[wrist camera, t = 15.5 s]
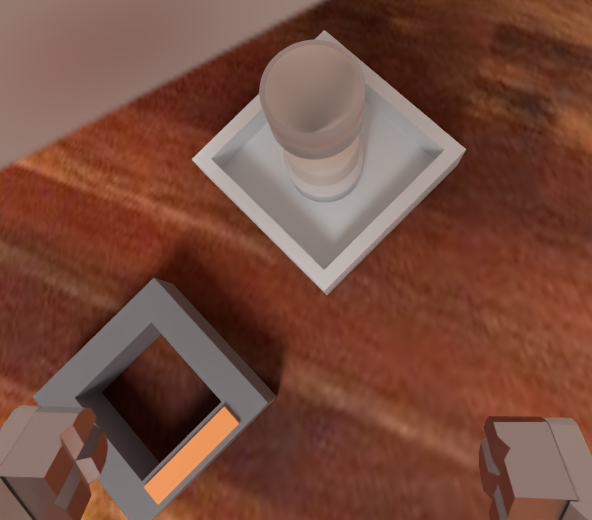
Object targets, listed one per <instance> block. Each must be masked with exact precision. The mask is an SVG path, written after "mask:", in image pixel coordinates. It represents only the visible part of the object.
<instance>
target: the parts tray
mask: <svg viewBox="0 0 592 520" xmlns="http://www.w3.org/2000/svg"><path fill="white" fill-rule="evenodd" d="M315 40H326V41H330V42H333V43H336V44H338V45H340V46H342V47H344V46H343V45H342V44H341V43H339V42H338V41H337V40H336V39H335V38H333V37H332V36H331V35H330V34H329V33H327V32H326V31H325V30H324V31H323V32H322V33H321V34H320V35H319V36H318V37H317V38H316V39H315ZM344 48H345V47H344ZM345 49H346V48H345ZM347 50H348V49H347ZM348 51H349V50H348ZM349 52H350V51H349ZM350 53H351V52H350ZM351 54H352V53H351ZM352 55H353V56H354V57H355V58H356V59H357V61H358V62H359V64H360V66H361V68H362V70H363V73H364V77H365V113H364V121H363V125H362V128H361V130H360V132H359V136H360V138H361V140H362V145H363V169H362V175H361V178H360V180H359V182H358V184H357V186H356V187H355V188H354V190H353V191H352V192H351V193H349V194H348V195H347V196H345V197H344V198H342V199H340V200H337V201H333V202H316V201H313V200H310V199H308V198H306V197H304V196H303V195H302V194H300V193H299V192H298V191H297V189H296V188H295V187H294V185H293V183H292V181H291V178H290V176H289V174H288V171H287V169H286V166H285V162H284V149H283V148H282V147H281V146H280V144H279V143H278V142H277V141H276V139H275V138H274V136H273V134H272V131H271V129H270V126H269V124H268V121H267V119H266V116H265V114H264V112H263V109H262V106H261V102H260V96H259V94H258V95H257V96H256V97H255V98H254V99H253V100H252V101H251V102H250V103H249V104H248V105H247V106H246V107H245V108H244V109H243V110H242V111H241V112H240V113H239V114H238V115H237V116H236V117H235V118H234V119H233V120H231V121H230V122H229V123H228V124H227V125H226V126H225V127H224V128H223V129H222V130H221V131H220V132H219V133H218V134H217V135H216V136H215V137H214V138H213V139H212V140H211V141H210V142H209V143H208V144H207V145H206V146H205V147H204V148H203V149H202V150H201V151H200V152H199V153H198V154H197V155H196V156H195V157H194V158H193V159H192V160H193V161H194V162H195V164H196V165H197V166H198V167H199V168H200V169H201V170H202V171H203V172H204V174H205V175H206V176H207V177H208V178H209V179H210V180H211V181H212V182H213V183H214V184H215V185H216V186H217V187H218V188H219V189H220V190H221V191H222V192H223V193H224V194H225V195H226V196H227V197H228V198H229V199H230V200H231V201H232V202H234V203H235V204H236V205H237V206H238V207H239V208H240V209H241V210H242V211H243V212H244V213H245V214H246V215H247V216H248V217H249V218H250V219H251V220H252V221H253V222H254V223H255V224H256V225H257V226H258V227H259V228H260V229H261V230H262V231H263V232H264V233H265V234H266V235H267V236H268V237H269V238H270V239H271V240H272V241H273V242H274V243H275V244H276V245H277V246H278V247H279V248H280V249H281V250H282V251H283V252H284V253H285V254H286V255H287V256H288V257H289V258H290V259H291V260H292V261H293V262H294V263H295V264H296V265H297V266H298V267H299V268H300V269H301V270H302V271H303V272H304V273H305V274H306V275H307V276H308V277H309V278H310V279H311V280H312V281H313V282H314V283H315V284H316V285H317V286H318V287H319V288H320V289H321V290H322V291H323V292H324V293H325V294H326V295H328V294H329V293H330V292H331V291H332V290H333V289H334V288H335V287H336V286H337V285H338V284H339V283H340V282H341V281H342V280H343V279H344V278H345V277H346V276H347V275H348V274H349V273H350V272H351V271H352V270H353V269H354V268H355V267H356V266H357V265H358V264H359V263H360V262H361V261H362V260H363V259H364V258H365V257H366V256H367V255H368V254H369V253H370V252H371V251H372V250H373V249H374V248H375V247H376V246H377V245H378V244H379V243H380V242H381V241H382V240H383V239H384V238H385V237H386V236H387V235H388V234H389V233H390V232H391V231H392V230H393V229H394V228H395V227H396V226H397V225H398V224H399V223H400V222H401V221H402V220H403V219H404V218H405V217H406V216H407V215H408V214H409V213H410V212H411V211H412V210H413V209H414V208H415V207H416V206H417V205H418V204H419V203H420V202H421V201H422V200H423V199H424V198H425V197H426V196H427V195H428V194H429V193H430V192H431V191H432V190H433V189H434V188H435V187H436V186H437V185H438V184H439V183H440V182H441V181H442V180H443V179H444V178H445V177H446V176H447V175H448V174H449V173H450V172H451V171H452V170H453V169H454V168H455V167H456V166H457V165H458V163H459V161H460V160H461V158H462V156H463V154H464V152H465V151H466V149H465V148H464V147H463V146H462V145H460V144H459V143H458V142H457V141H456V140H454V139H453V138H452V137H451V136H450V135H448V134H447V133H446V132H445V131H444V130H443V129H441V128H440V127H439V126H438V125H437V124H435V123H434V122H433V121H432V120H431V119H430V118H428V117H427V116H426V115H425V114H424V113H422V112H421V111H420V110H419V109H418V108H416V107H415V106H414V105H413V104H412V103H411V102H409V101H408V100H407V99H406V98H405V97H403V96H402V95H401V94H400V93H399V92H397V91H396V90H395V89H394V88H393V87H392V86H390V85H389V84H388V83H387V82H386V81H384V80H383V79H382V78H381V77H380V76H378V75H377V74H376V73H375V72H374V71H373V70H371V69H370V68H369V67H368V66H367V65H365V64H364V63H363V62H362V61H361V60H360V59H358V58H357V57H356V56H355V55H354V54H352Z"/></svg>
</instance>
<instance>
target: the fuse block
mask: <svg viewBox="0 0 592 520" xmlns="http://www.w3.org/2000/svg"><path fill="white" fill-rule="evenodd" d="M161 334H162V335H163V336H164V337H165V338H166V340H167V341H168V342H169V343H170V344H171V345H172V346H173V347H174V349H175V350H176V351H177V352H178V353H179V354H180V355H181V356H182V358H183V359H184V360H185V361H186V362H187V363H188V364H189V366H190V367H191V368H192V369H193V370H194V371H195V372H196V373H197V375H198V376H199V377H200V378H201V379H202V380H203V381H204V382H205V384H206V385H207V386H208V387H209V388H210V389H211V390H212V391H213V393H214V394H215V395H216V396H217V397H218V398H219V399H220V401H221V403H220V404H219V405H218V406H217V407H216V408H215V409H214V410H213V411H212V412H211V413H210V414H209V415H208V416H207V417H206V418H205V419H204V420H203V421H202V422H201V423H200V424H199V425H198V426H197V427H196V428H195V429H194V430H193V431H192V432H191V433H190V434H189V435H188V436H187V437H186V438H185V439H184V440H183V441H182V442H181V443H180V444H179V445H178V446H177V447H176V448H175V449H174V450H173V451H172V452H171V453H170V454H169V455H168V456H167V457H166V458H165V459H164V460H163V461H162V462H161V463H159V461H158V460H157V459H156V458H155V457H154V455H153V454H152V453H151V452H150V451H149V449H148V448H147V447H146V446H145V444H144V443H143V442H142V441H141V440H140V438H139V437H138V436H137V435H136V434H135V432H134V431H133V430H132V429H131V427H130V426H129V425H128V424H127V423H126V421H125V420H124V419H123V418H122V417H121V415H120V414H119V413H118V412H117V410H116V409H115V408H114V407H113V406H112V404H111V403H110V402H109V401H108V400H107V398H106V397H105V396H104V395H103V393H102V392H103V391H104V390H105V389H106V388H107V387H108V386H109V385H110V384H111V383H112V382H113V381H114V380H115V379H116V378H117V377H118V376H119V375H120V374H121V373H122V372H123V371H124V370H125V369H126V368H127V367H128V366H129V365H130V364H131V363H132V362H133V361H134V360H135V359H136V358H137V357H138V356H139V355H140V354H141V353H142V352H143V351H144V350H145V349H146V348H147V347H148V346H149V345H150V344H151V343H153V342H154V341H155V340H156V339H157V338H158V337H159V336H160V335H161ZM276 397H277V396H276V395H275V394H274V393H273V392H272V391H271V390H270V389H269V388H268V387H267V386H266V384H265V383H264V382H263V381H262V380H261V379H260V378H259V377H258V376H257V375H256V374H255V372H254V371H253V370H252V369H251V368H250V367H249V366H248V365H247V364H246V363H245V362H244V360H243V359H242V358H241V357H240V356H239V355H238V354H237V353H236V352H235V351H234V350H233V349H232V347H231V346H230V345H229V344H228V343H227V342H226V341H225V340H224V339H223V338H222V337H221V335H220V334H219V333H218V332H217V331H216V330H215V329H214V328H213V327H212V326H211V325H210V323H209V322H208V321H207V320H206V319H205V318H204V317H203V316H202V315H201V314H200V313H199V312H198V310H197V309H196V308H195V307H194V306H193V305H192V304H191V303H190V302H189V301H188V300H187V298H186V297H185V296H184V295H183V294H182V293H181V292H180V291H179V290H178V289H177V288H176V286H175V285H174V284H172V283H169V282H166V281H163V280H160V279H156V278H153V279H152V280H151V281H150V282H149V283H148V284H147V285H146V286H145V287H144V288H143V289H142V290H141V291H140V292H139V293H138V294H137V295H136V296H135V297H134V298H133V299H132V300H131V301H130V302H129V303H128V304H127V305H126V306H125V307H124V308H123V309H121V310H120V311H119V312H118V313H117V314H116V315H115V316H114V317H113V318H112V319H111V320H110V321H109V322H108V323H107V324H106V325H105V326H104V327H103V328H102V329H101V330H100V331H99V332H98V333H97V334H96V335H95V336H94V337H93V338H92V339H91V340H90V341H89V342H88V343H87V344H86V345H85V346H84V347H83V348H82V349H81V350H80V351H79V352H78V353H77V354H76V355H75V356H74V357H73V358H72V359H71V360H70V361H69V362H68V363H66V364H65V365H64V366H63V367H62V368H61V369H60V370H59V371H58V372H57V373H56V374H55V375H54V376H53V377H52V378H51V379H50V380H49V381H48V382H47V383H46V384H45V385H44V386H43V387H42V388H41V389H40V390H39V391H38V392H37V393H36V394H35V395H34V396H33V398H34V399H35V401H36V402H37V403H38V404H39V406H54V407H78V408H91V409H92V410H93V412H94V414H95V415H96V417H97V418H96V420H95V422H94V425H96V426H97V427H99V428H100V429H102V430H103V431H104V433H105V435H106V437H107V443H108V451H107V457H106V462H105V465H104V467H103V470H102V472H101V474H100V476H98V477H97V480H98V481H99V482H100V484H101V485H102V486H103V487H104V489H105V490H106V491H107V493H108V494H109V495H110V496H111V498H112V499H113V500H114V501H115V503H116V504H117V505H118V507H119V508H120V509H121V510H122V512H123V513H124V514H125V516H126V517H127V518H128V519H129V520H154V519H155V518H156V517H157V516H158V515H160V514H161V513H162V512H163V511H164V510H165V509H166V508H167V507H168V506H169V505H170V504H171V503H172V502H173V501H174V500H175V499H176V498H177V497H178V496H179V495H180V494H181V493H182V492H183V491H184V490H185V489H186V488H187V487H188V486H189V485H190V484H191V483H192V482H193V481H194V480H195V479H196V478H197V477H198V476H199V475H200V474H201V473H202V472H203V471H204V470H205V469H206V468H207V467H208V466H209V465H210V464H211V463H212V462H213V461H214V460H215V459H216V458H217V457H218V456H219V455H220V454H221V453H222V452H223V451H224V450H225V449H226V448H227V447H228V446H229V445H230V444H231V443H232V442H233V441H234V440H235V439H236V438H237V437H238V436H239V435H240V434H241V433H242V432H243V431H244V430H245V428H246V427H247V426H248V425H249V424H250V423H251V422H252V421H253V420H254V419H255V418H256V417H257V416H258V415H259V414H260V413H261V412H262V411H263V410H264V409H265V408H266V407H267V406H268V405H269V404H270V403H271V402H272V401H273V400H274V399H275V398H276Z"/></svg>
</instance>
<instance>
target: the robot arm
mask: <svg viewBox="0 0 592 520" xmlns="http://www.w3.org/2000/svg"><path fill="white" fill-rule="evenodd" d="M96 418H97V417H96V415H95V414H94V412H93V410H92V409H91V408H78V407H54V406H29V405H21V406H19V407H18V408H17V409H15V410H14V411H13V412H12V413H11V415H10V416H9V418H8V419H7V421H6V422H5V424H4V425H3V426H2V428H1V429H0V520H81V518H82V515H83V513H84V511H85V509H86V506H87V504H88V502H89V500H90V497H91V491H90V487H89V484H90V483H91V482H93V481H94V480H95V479H96V478H97V477H98V476H100V474H101V472H102V470H103V467H104V465H105V462H106V457H107V451H108V443H107V437H106V435H105V433H104V431H103V430H102V429H100V428H99V427H97V426H96V425H94V422H95V420H96ZM484 429H485V433H486V437H487V438H485V439H484V440H482V441H481V444H480V450H479V468H480V475H481V481H482V485H483V490H484V491H485V492H486V493H487V494H488V495H489V496H490V498H491V499H492V504H491V507H490V511H489V516H490V520H592V456H591V454H590V451H589V449H588V447H587V445H586V442H585V440H584V438H583V436H582V434H581V431H580V429H579V427H578V425H577V423H576V422H575V421H574V420H573V419H572V418H542V417H509V416H489V417H488V418H487V419H486V422H485V426H484Z"/></svg>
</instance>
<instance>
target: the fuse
mask: <svg viewBox="0 0 592 520" xmlns="http://www.w3.org/2000/svg"><path fill="white" fill-rule="evenodd" d="M259 96H260V102H261V106H262V109H263V112H264V114H265V116H266V119H267V121H268V124H269V126H270V129H271V131H272V134H273V136H274V138H275V139H276V141H277V142H278V143H279V144H280V146H281V147H282V148H283V149H284V162H285V166H286V169H287V171H288V174H289V176H290V178H291V181H292V183H293V185H294V187H295V188H296V189H297V191H298V192H299V193H300V194H302V195H303V196H304V197H306V198H308V199H310V200H313V201H316V202H333V201H337V200H340V199H342V198H344V197H345V196H347V195H348V194H349V193H351V192H352V191H353V190H354V188H355V187H356V186H357V184H358V182H359V180H360V178H361V175H362V169H363V145H362V140H361V138H360V136H359V132H360V130H361V128H362V125H363V121H364V113H365V77H364V73H363V70H362V68H361V66H360V64H359V62H358V61H357V59H356V58H355V57H354V56H353V55H352V54H351V53H350V52H349V51H348V50H347V49H345V48H344V47H342V46H340V45H338V44H336V43H333V42H330V41H326V40H306V41H301V42H298V43H295V44H292V45H290V46H288V47H286V48H285V49H283V50H282V51H280V52H279V53H278V54H277V55H276V56H275V57H274V58H273V59H272V60H271V61H270V63H269V64H268V65H267V67H266V69H265V71H264V73H263V75H262V78H261V82H260V89H259Z"/></svg>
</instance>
